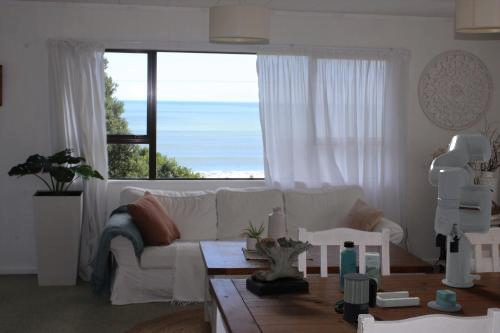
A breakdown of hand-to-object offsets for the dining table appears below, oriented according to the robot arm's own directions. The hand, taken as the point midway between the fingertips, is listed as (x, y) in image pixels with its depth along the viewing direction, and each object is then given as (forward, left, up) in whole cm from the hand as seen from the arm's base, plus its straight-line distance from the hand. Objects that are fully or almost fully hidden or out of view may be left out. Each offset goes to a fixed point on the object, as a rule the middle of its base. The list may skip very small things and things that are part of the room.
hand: (446, 249), depth 238 cm
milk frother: (+38, +3, -22) cm, 44 cm away
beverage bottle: (+27, -27, -21) cm, 44 cm away
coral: (+52, -32, -22) cm, 65 cm away
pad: (0, 0, -21) cm, 21 cm away
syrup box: (+16, -29, -22) cm, 39 cm away
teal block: (0, 0, -21) cm, 21 cm away
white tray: (+15, -9, -21) cm, 28 cm away
